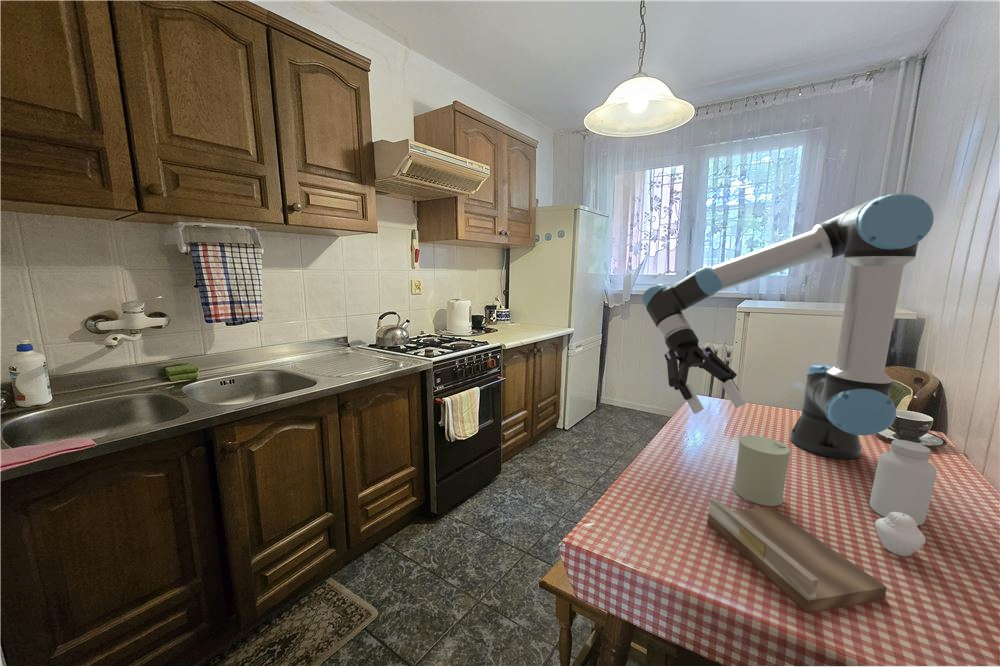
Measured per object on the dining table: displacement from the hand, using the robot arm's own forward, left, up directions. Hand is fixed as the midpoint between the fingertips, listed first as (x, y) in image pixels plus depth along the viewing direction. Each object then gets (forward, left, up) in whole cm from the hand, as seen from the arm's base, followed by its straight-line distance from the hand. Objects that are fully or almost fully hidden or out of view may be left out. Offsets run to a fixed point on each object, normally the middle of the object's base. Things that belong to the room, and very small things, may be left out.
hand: (720, 408), depth 92 cm
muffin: (-12, +30, -16) cm, 36 cm away
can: (-2, +11, -16) cm, 19 cm away
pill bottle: (-24, +22, -16) cm, 36 cm away
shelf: (+9, +28, -16) cm, 33 cm away
